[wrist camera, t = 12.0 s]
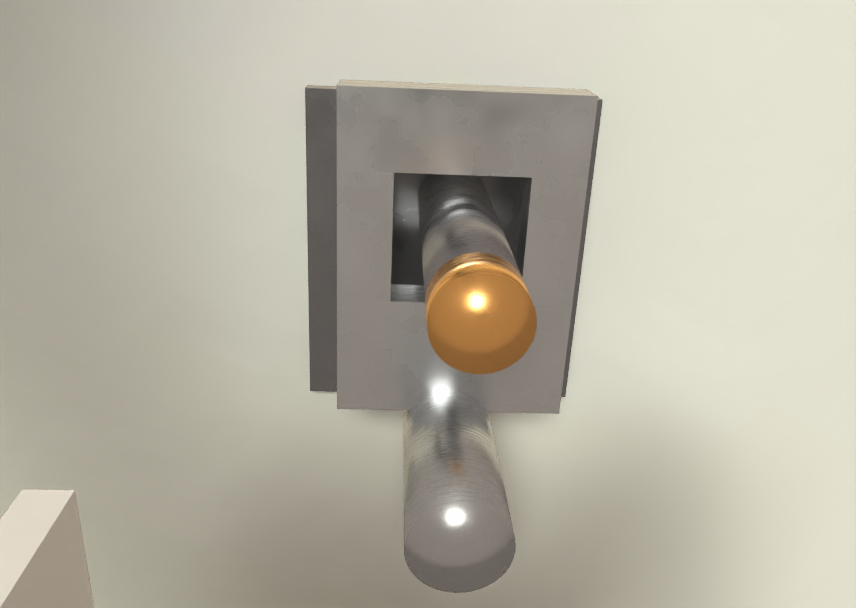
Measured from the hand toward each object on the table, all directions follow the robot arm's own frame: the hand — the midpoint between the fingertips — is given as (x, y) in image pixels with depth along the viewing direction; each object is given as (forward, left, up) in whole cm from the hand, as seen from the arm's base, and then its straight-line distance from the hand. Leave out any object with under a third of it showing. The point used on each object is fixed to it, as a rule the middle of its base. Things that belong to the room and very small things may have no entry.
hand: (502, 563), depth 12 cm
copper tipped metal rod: (+1, +1, -28) cm, 28 cm away
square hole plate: (+4, +1, -29) cm, 29 cm away
